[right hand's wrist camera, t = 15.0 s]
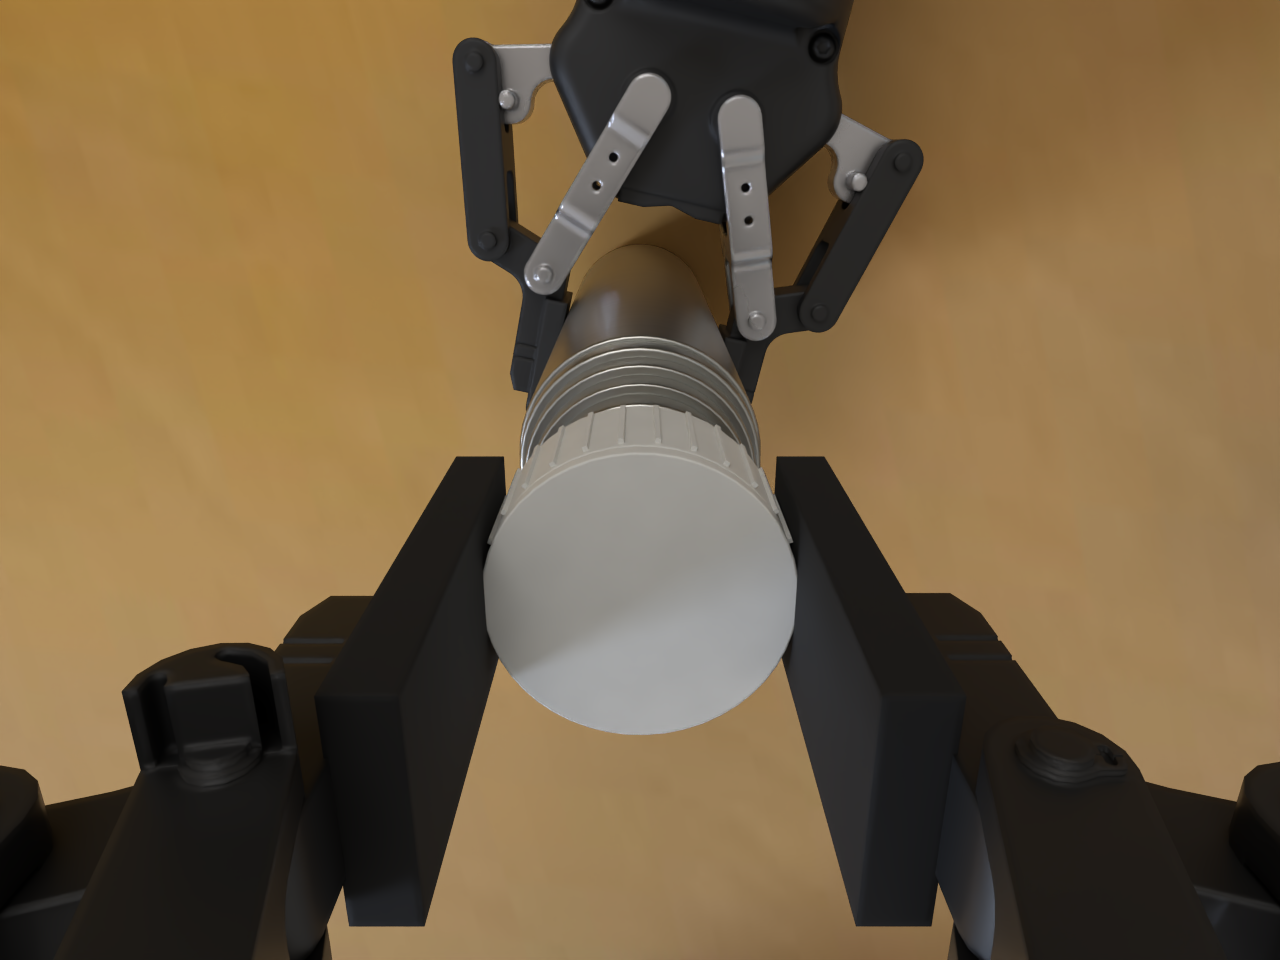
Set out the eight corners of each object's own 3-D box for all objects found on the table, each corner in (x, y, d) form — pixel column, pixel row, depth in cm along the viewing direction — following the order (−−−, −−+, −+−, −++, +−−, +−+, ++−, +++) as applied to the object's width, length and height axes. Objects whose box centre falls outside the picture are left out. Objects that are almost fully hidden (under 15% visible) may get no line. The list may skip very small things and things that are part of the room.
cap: (813, 435, 14) (844, 488, 12) (739, 677, 15) (754, 763, 13) (527, 373, 13) (506, 416, 11) (481, 628, 15) (455, 706, 13)
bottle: (727, 286, 34) (883, 533, 12) (661, 393, 36) (696, 782, 14) (616, 218, 33) (571, 355, 11) (554, 331, 35) (408, 643, 13)
